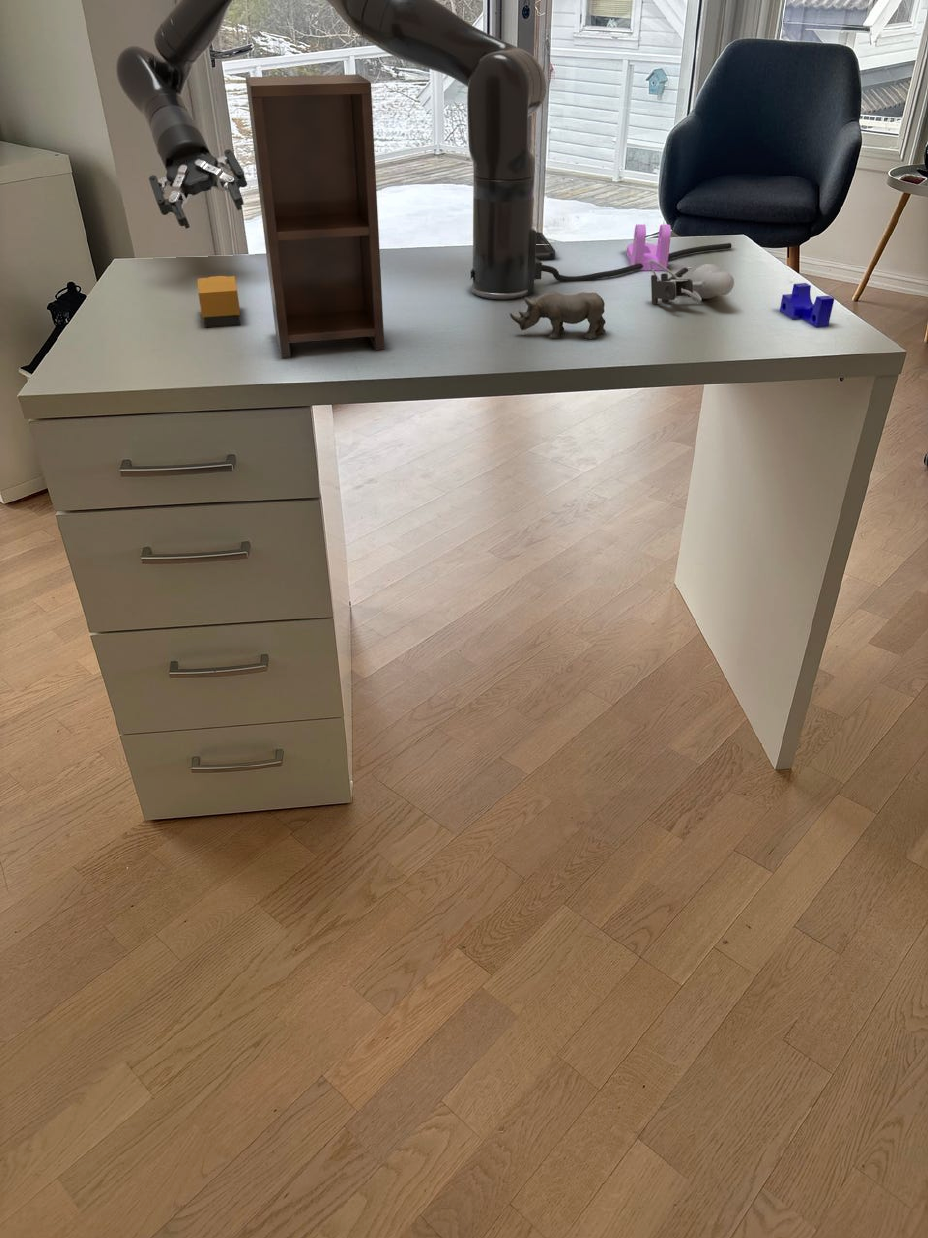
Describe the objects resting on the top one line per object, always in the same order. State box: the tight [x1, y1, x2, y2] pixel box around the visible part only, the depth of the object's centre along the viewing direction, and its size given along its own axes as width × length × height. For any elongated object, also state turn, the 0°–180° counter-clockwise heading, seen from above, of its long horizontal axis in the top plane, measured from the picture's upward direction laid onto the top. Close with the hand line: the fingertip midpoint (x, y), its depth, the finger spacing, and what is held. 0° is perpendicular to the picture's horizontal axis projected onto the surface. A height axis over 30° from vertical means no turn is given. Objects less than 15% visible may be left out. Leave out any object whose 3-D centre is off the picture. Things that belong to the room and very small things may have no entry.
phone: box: [535, 231, 556, 261], centre depth 171 cm, size 8×1×15 cm
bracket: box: [626, 224, 672, 271], centre depth 163 cm, size 13×6×7 cm, turn 179°
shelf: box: [245, 74, 385, 359], centre depth 121 cm, size 14×9×32 cm, turn 104°
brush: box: [197, 275, 241, 328], centre depth 141 cm, size 5×18×5 cm, turn 14°
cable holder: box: [779, 282, 835, 328], centre depth 138 cm, size 8×4×4 cm, turn 13°
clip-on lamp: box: [650, 260, 735, 305], centre depth 146 cm, size 12×6×18 cm
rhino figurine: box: [509, 291, 606, 340], centre depth 131 cm, size 4×14×6 cm, turn 89°
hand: (212, 214), depth 144 cm, fingers open, 8 cm apart
